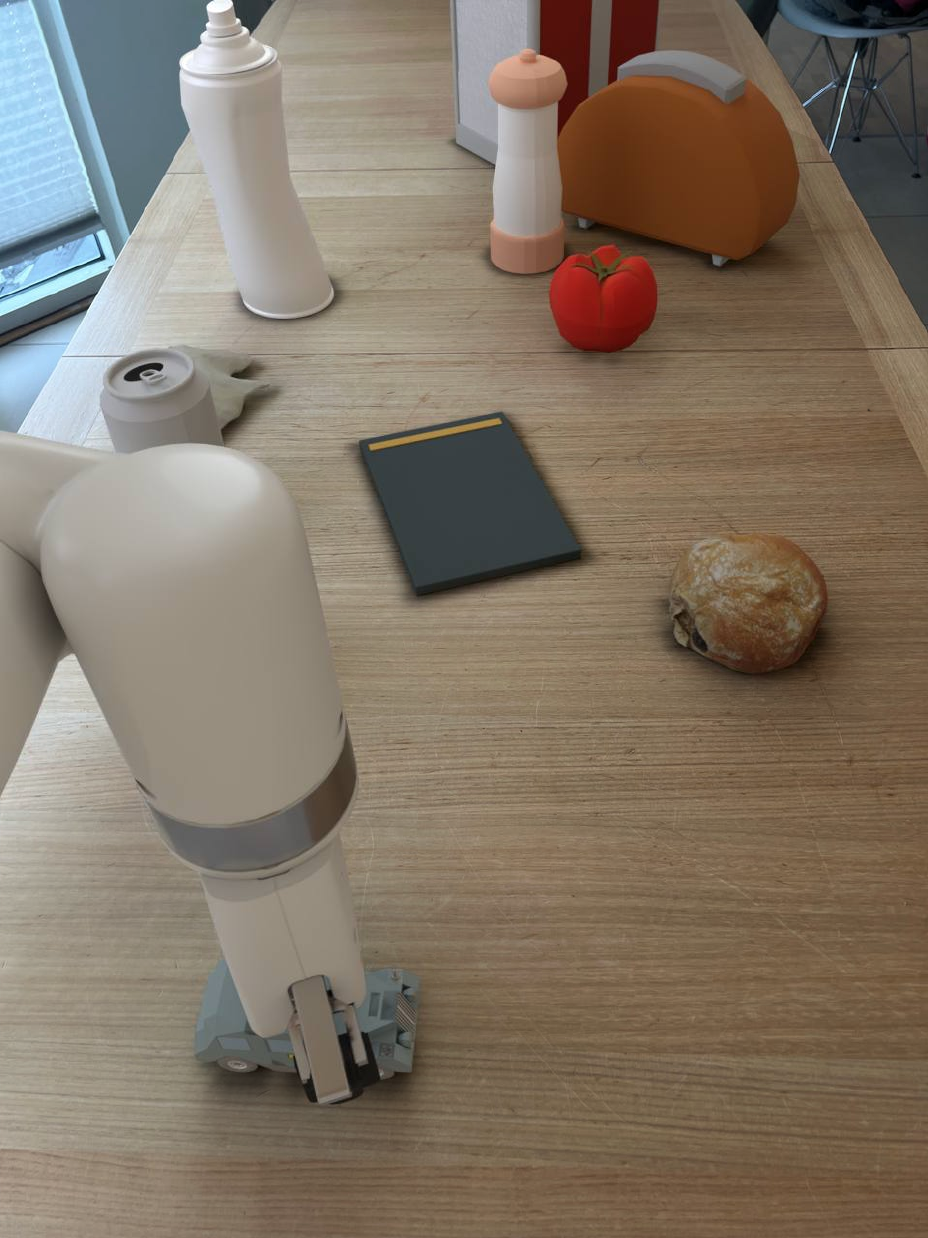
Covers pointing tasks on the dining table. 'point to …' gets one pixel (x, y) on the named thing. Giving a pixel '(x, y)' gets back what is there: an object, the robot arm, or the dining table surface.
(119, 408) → the can
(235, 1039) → the toy car
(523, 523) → the mat
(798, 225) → the dining table surface
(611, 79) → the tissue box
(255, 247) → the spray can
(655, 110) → the toaster
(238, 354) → the crumpled beige cloth
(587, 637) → the dining table surface
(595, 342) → the tomato
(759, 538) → the bread roll
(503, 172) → the pepper shaker
